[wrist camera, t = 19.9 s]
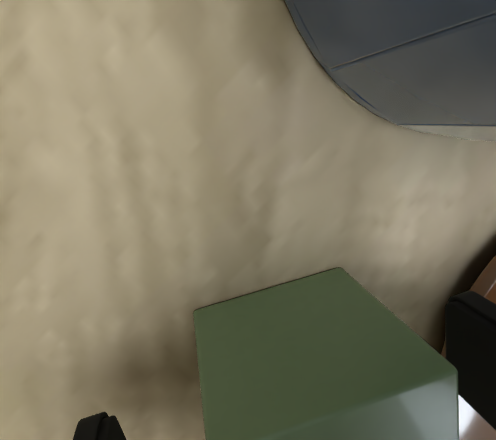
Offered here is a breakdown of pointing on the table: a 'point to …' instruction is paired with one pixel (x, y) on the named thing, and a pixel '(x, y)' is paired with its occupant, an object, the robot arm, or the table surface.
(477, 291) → the lid
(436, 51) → the crock
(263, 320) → the block
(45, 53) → the table surface
